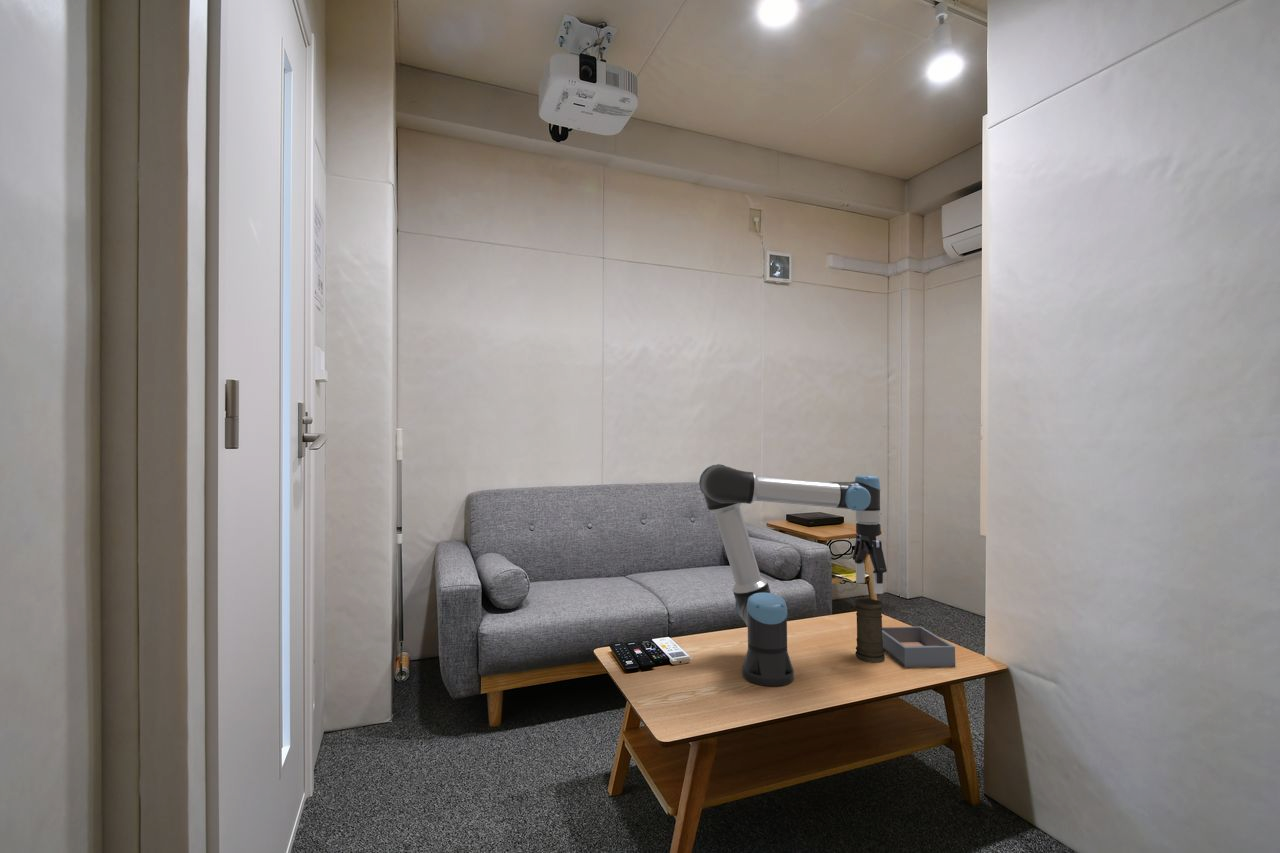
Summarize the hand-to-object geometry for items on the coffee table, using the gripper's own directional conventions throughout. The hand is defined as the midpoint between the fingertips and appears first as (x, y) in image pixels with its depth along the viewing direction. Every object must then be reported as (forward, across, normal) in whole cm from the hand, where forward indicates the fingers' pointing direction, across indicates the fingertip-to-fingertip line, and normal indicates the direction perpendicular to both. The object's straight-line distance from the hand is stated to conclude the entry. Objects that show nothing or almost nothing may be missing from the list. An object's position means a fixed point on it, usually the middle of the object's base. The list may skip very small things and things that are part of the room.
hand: (869, 588), depth 188 cm
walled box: (+22, +1, -15) cm, 27 cm away
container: (+23, 0, 0) cm, 23 cm away
